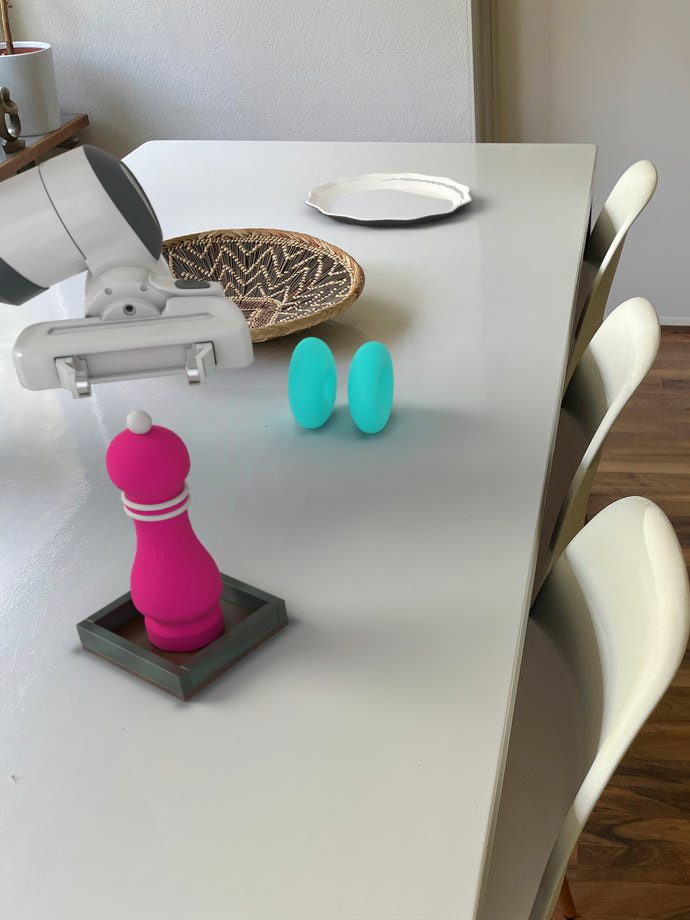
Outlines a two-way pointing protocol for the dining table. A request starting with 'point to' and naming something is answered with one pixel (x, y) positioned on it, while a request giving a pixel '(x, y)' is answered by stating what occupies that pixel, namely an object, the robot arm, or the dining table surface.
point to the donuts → (318, 385)
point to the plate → (345, 186)
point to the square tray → (186, 673)
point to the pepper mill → (165, 538)
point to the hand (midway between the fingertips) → (139, 383)
